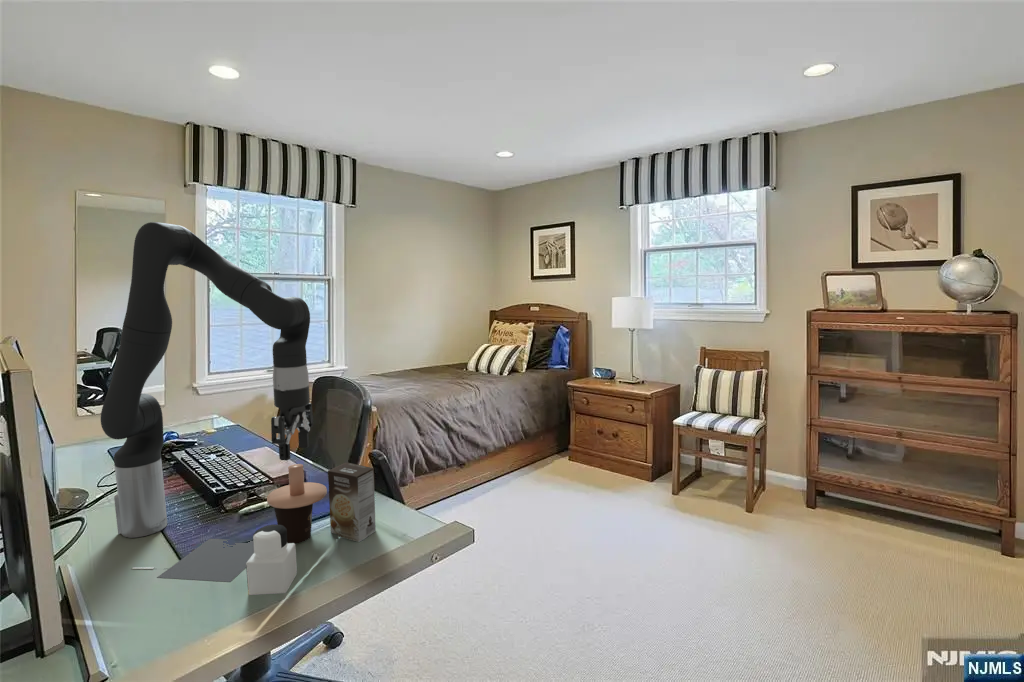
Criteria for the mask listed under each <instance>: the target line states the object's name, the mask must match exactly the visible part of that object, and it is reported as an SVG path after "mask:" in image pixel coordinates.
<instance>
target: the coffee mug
mask: <svg viewBox="0 0 1024 682" xmlns="http://www.w3.org/2000/svg"><path fill="white" fill-rule="evenodd" d="M313 506H314V503H313V504H310V505H307V506H303V507H298V508H289V509H282V508H275V507H273V508H274V514H275V519H276V523H277V524H276V525H283V526H284V527H285V528H286V529H287V543H295V545H298V544H302V543H304V542H306V541H307V540H309V539H310V538H311V535H312V521H313V519H312V518H313Z"/></svg>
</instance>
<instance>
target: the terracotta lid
mask: <svg viewBox="0 0 1024 682" xmlns="http://www.w3.org/2000/svg"><path fill="white" fill-rule="evenodd" d="M287 468H288V485H284V486H280V487H278V488H276V489H274V490H272V491H271V492H269V493H268V495H267V497H266V501H267V505H268V506H270V507H272V508H274V507H275V508H282V509H289V508H298V507H303V506H307V505H310V504H313V505H314V504H315V503H317V502H320V501H321V500H323V499H324V498H325V497H326V496H327V494H328V493H327V492H328V490H327V487H326V485H324V484H322V483H318V482H310V481H307V482H305V478H304V477H305V475H304V465H303V464H302V463H295V464H291V465H289V466H288V467H287Z"/></svg>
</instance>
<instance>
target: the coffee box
mask: <svg viewBox="0 0 1024 682" xmlns="http://www.w3.org/2000/svg"><path fill="white" fill-rule="evenodd" d="M374 470H375V469H374V467H371V466H370V467H369V466H366V465H361V464H356V463H351V462H348V461H345V462H343V463H341V464H339V465H337V466H334V467H333V468H330V469H329V470H328V471H327V480H328V481H327V482H328V497H329V498H328V499H329V501H328V502H329V515H330V516H329V521H330V534H335V535H337V536H338V537H339V538H343V539H345V540H350V541H354V542H357V543H360V542H362V541H363V540H365V539H366V538H368V537H369V536H370V535H372V534H374V533H375V532H377V531H376V530H377V529H376V501H375V499H376V497H375V473H374V472H375V471H374Z"/></svg>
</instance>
